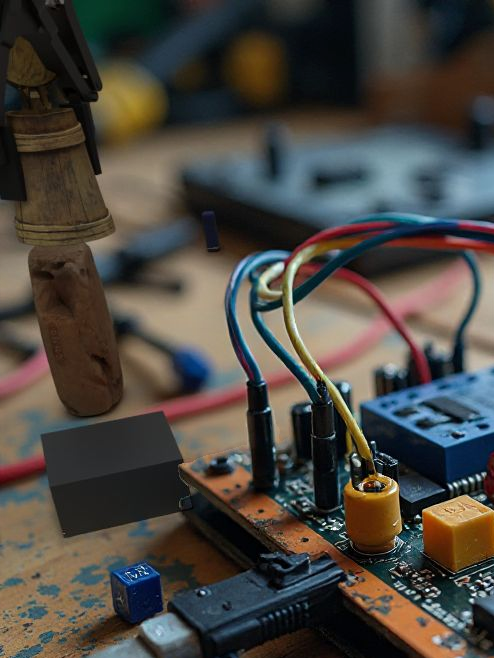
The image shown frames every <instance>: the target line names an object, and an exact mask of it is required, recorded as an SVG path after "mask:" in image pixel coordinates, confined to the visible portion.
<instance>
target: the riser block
mask: <svg viewBox="0 0 494 658" xmlns="http://www.w3.org/2000/svg"><path fill="white" fill-rule="evenodd" d="M39 436H40V441H41V447H42V453H43V457H44V464H45V471H46V475H47V480H48V481H47V482H48V487H49V491H50V494H51V497H52V502H53V504H54V509H55V511H56V512H55V513H56V516H57V519H58V522H59V526H60V530H61V533H62V536H63V538H64V539H66V538H70V537H74V536H78V535H82V534H87V533H91V532H95V531H100V530H104V529H109V528H113V527H114V528H115V527H117V526H121V525H126V524H131V523H134V522H140V521H144V520H149V519H153V518H157V517H162V516H165V515H170V514H174V513H180V512H183V511H182V510H181V508H180V507H179V501H180V499H181V498H184V497H186V496H189V495H191V496H192V494H191V491H190V485H189V486H187V485H186V484H185V483H184V482H183V481H182V480H181V479H180V477H179V472H178V465H179V464H182V463H184V464H185V461H184V458H183V457H184V456H183V454H182V452H181V450H180V447H179V445H178V442H177V440H176V438H175V435H174V434H173V430H172V429H171V426H170V424H169V422H168V419H167V416H166V414H165V411H164V410H158V411H152V412H148V413H142V414H136V415H132V416H126V417H121V418H117V419H111V420H106V421H102V422H97V423H91V424H85V425H81V426H76V427H75V426H74V427H71V428H65V429H60V430H55V431H51V432H50V431H49V432H44V433H40V435H39ZM63 533H65V534H63Z"/></svg>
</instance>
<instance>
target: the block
mask: <svg viewBox="0 0 494 658" xmlns="http://www.w3.org/2000/svg"><path fill="white" fill-rule="evenodd" d="M27 266H28V267H27V268H28V273H29V278H30V284H31V288H32V289H31V290H32V291H31V292H32V297H33V303H34V309H35V314H36V319H37V323H38V327H39V331H40V336H41V341H42V344H43V348H44V352H45V356H46V360H47V364H48V368H49V372H50V374H51V378H52V381H53V384H54V387H55V391H56V394H57V396H58V398H59V400H60V402H61V404H62V405H63V407H65V408H66V410H67V411H68V412H69V413H70V414H72V415H74V416H79V417H91V416H97V415H100V414H102V413H106V412H108V411H109V410H110V409H111V407H112V406H113V405H114V404H116V403H118V402H119V400H120V398H121V396H122V394H123V390H124V377H123V376H124V375H123V370H122V364H121V359H120V353H119V349H118V346H117V339H116V335H115V334H116V333H115V330H114V326H113V321H112V318H111V314H110V309H109V306H108V302H107V301H108V300H107V298H106V295H105V290H104V286H103V282H102V279H101V276H100V272H99V270H98V268H97V265H96V262H95V258H94V254H93V252H92V249H91V246H90V245H89V244H87V242H85V243H80V244H73V245H65V246H35V245H33V247H32V248H31V250H30V251H29V253H28V256H27Z"/></svg>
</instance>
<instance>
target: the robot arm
mask: <svg viewBox="0 0 494 658" xmlns="http://www.w3.org/2000/svg"><path fill="white" fill-rule="evenodd" d="M74 5H75V4H74V0H0V200H1V201H10V202H14V201H23V202H25V201H27V194H26V186H25V179H24V172H23V169H22V165H21V161H20V157H19V153H18V149H17V145H16V141H15V137H14V133H13V129H12V125H7V124H5V123H4V124H3V120H4V113H5V112H4V110H5V101H6V90H7V83H6V82H7V72H8V62H9V52H10V49H11V48H13V47H14V45H15V39H16V37H20V36H21V37H22V38H24V39H25V40H27V41H28V42H29V43H30V44H31V46H32V47H33V49H34V51H35V52H36V54H37V55H38V57H39V59H40V60H41V62H42V64H43V65H44V67H45V68H46V69H47V70H49V71H51V72H53V73H55V74H57V75H58V76H59V79H58V80H57V82H55V83H54V85H55V86H56V87H57V90H58V91H59V92H60V94H61V96H62V98H63V99H64V100H65V101H66V102H62V103H59V104H58V108H73V110H74V113H75V116H76V119H77V122H79V123H80V124H81V127H82V130H83V132H84V135H85V141H84V143H85V146H86V149H87V153H88V156H89V159H90V162H91V165H92V168H93V171H94V174H95V176H100V175H102V174H103V170H102V167H101V162H100V161H101V160H100V156H99V151H98V147H97V143H96V139H95V136H96V126H95V122H94V117H93V112H92V109H91V108H92V107H91V103H97V102H98V101H99V98H100V97H99V93H100V92H101V91H102V90H103V87H104V86H103V81H102V79H101V76H100V73H99V72H98V71H99V70H98V68H97V65H96V63H95V60H94V57H93V55H92V53H91V50H90V47H89V44H88V42H87V39H86V36H85V34H84V31H83V29H82V26H81V23H80V20H79V18H78V16H77V13H76V10H75V6H74ZM84 76H86V77H84Z"/></svg>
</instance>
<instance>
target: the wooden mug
mask: <svg viewBox="0 0 494 658" xmlns="http://www.w3.org/2000/svg"><path fill="white" fill-rule="evenodd" d="M58 79H59V76H58V75H57V74H55V73H53V72H51V71H49V70H47V69H46V68H45V67H44V65H43V64H42V62H41V60H40V59H39V57H38V55H37V54H36V52H35V51H34V49H33V47H32V46H31V44H30V43H29V42H28V41H27V40H25V39H24V38H22V37H21V36H20V37H16V39H15V45H14V47H13V48H11V49H10V52H9V62H8V72H7V82H6V85H9V86H10V87H12V88H13V89H15V90H16V91H17V92H18V93H19V98H20V103H21V109H20V110H19V109H18V110H8V111H5V112H3V116H4V124H7V125H12V129H13V133H14V137H15V141H16V145H17V149H18V153H19V157H20V161H21V165H22V169H23V172H24V179H25V186H26V194H27V201H25V202H23V201H13V202H14V211H15V213H14V214H15V215H14V216H13V217H12V219H13V225H14V231H15V236H16V239H17V241H18V242H19V243H21V244H23V245H28V246H65V245H73V244H80V243H89V242H94V241H98V240H101V239H104V238H106V237H109V236H111V235H113V234H114V233H115V232H116V231H117V228H116V225H115V222H114V219H113V216H112V213H111V210H110V208H109V207H108V206H106V203H105V200H104V196H103V194H102V192H101V189H100V185H99V183H98V179H97V177H96V176H97V175H95V174H94V171H93V168H92V165H91V162H90V159H89V156H88V153H87V149H86V146H85V143H84V141H85V135H84V132H83V130H82V127H81V124H80V123H79V122H77V119H76V116H75V113H74V110H73V108H59V107H58V108H53V104H52V99H51V96H50V95H51V94H50V88H51V87H52V86H53V85H55V82H57V80H58Z"/></svg>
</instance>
